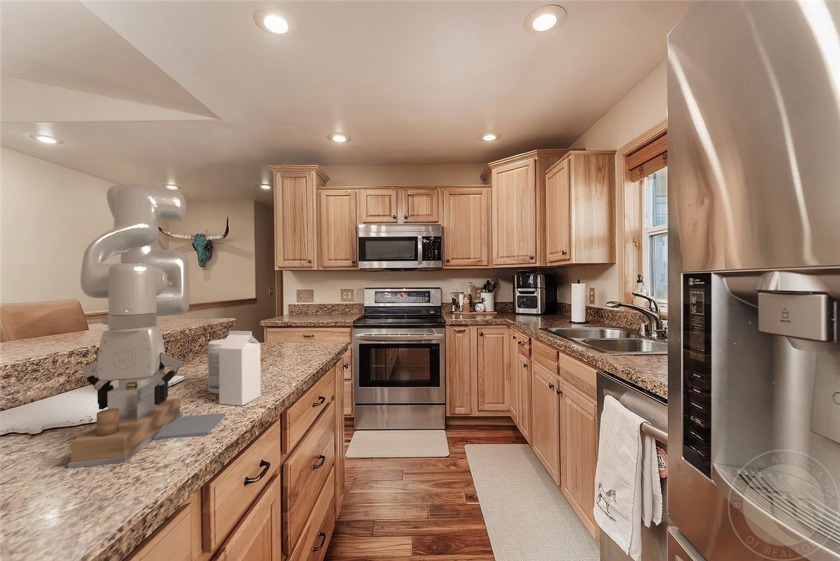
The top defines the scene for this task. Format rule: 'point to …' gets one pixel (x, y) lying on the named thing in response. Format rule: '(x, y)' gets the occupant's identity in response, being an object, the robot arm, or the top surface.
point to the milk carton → (239, 369)
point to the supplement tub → (213, 365)
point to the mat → (190, 426)
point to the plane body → (120, 435)
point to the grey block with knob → (133, 400)
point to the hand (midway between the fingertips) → (133, 404)
